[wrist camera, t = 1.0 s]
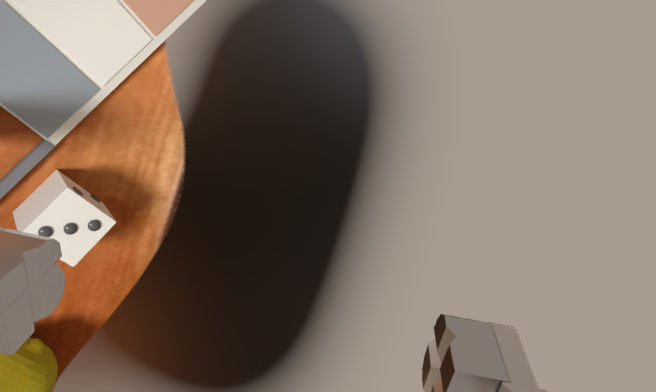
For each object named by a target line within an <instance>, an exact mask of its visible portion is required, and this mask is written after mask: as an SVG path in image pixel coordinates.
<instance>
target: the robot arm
mask: <svg viewBox="0 0 656 392" xmlns="http://www.w3.org/2000/svg"><path fill="white" fill-rule="evenodd" d="M61 257H62V252H61V246H60V243H59V242H58V241H57V240H55V239H53V238H49V237H44V236H39V235H35V234H30V233H26V232H21V231H16V230H12V229H6V228H1V227H0V353H2V354H8V355H13V354H14V353H15V352H16V351H17V350H18V349H19V348H20V347H21V345H22V344H23V343H24V342H25V341H26V340H27V339H28V338H29V337H30V336H31V335H32V334H33V333H34V331H35V325H34V322H36V321H38V320H41V319H43V318H45V317H48V316H49V315H50V314H51V313H52V312H53V311H54V309H55V308H56V307H57V306H58V304H59V302H60V300H61V297H62V295H63V293H64V286H65V277H64V272H63V271H62V270H61V269H60V267H59V266H58V265H57V264H56V262H57V261H58V260H59V259H60V258H61ZM434 333H435V340H433V341H432V342H430V343H429V344H428V346H427V350H426V353H425V356H424V362H423V368H422V382H423V390H424V391H425V392H547V391H546V390H542V389H538V386H537V383H536V381H535V378H534V376H533V373H532V370H531V368H530V365H529V362H528V360H527V357H526V354H525V352H524V350H523V347H522V344H521V341H520V339H519V336H518V333H517V331H516V329H515V328H514V327H513V326H509V325H502V324H497V323H491V322H488V323H486V322H481V321H476V320H471V319H465V318H460V317H455V316H450V315H444V314H440V316H439V317H438V319H437V321H436V324H435V326H434Z"/></svg>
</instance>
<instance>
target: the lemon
mask: <svg viewBox="0 0 656 392" xmlns="http://www.w3.org/2000/svg"><path fill="white" fill-rule="evenodd" d="M57 375H58V365H57V361H56V358H55V355H54V353H53V352H52V350H51V349H50V348H49V347H48V346H47V345H45V344H44V343H43V341H42V340H40V339H38V338H31V337H29V338H28V339H27V340H26V341H25V342H24V343H23V344H22V345H21V347H20V348H19V349H18V350H17V351H16V352H15V353H14V354H13V355H8V354H2V353H0V392H51V391H52V389H53V387H54V384H55V381H56V378H57Z"/></svg>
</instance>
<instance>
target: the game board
mask: <svg viewBox="0 0 656 392" xmlns="http://www.w3.org/2000/svg"><path fill="white" fill-rule="evenodd" d="M206 1H207V0H0V106H1V107H3V108H4V109H5V110H7V111H8V112H9V113H11V114H12V115H13V116H15V117H16V118H17V119H19V120H20V121H21V122H23V123H24V124H25V125H26V126H28V127H29V128H30V129H32V130H33V131H34V132H36V133H37V134H38V135H40V136H41V137H42V138H44V139H43V140H42V141H41V142H40V143H39V144H38V145H36V146H35V147H34V148H33V149H32V150H31V151H30V152H29V153H28V154H27V155H26V156H25V157H24V158H23V159H22V160H21V161H20V162H19V163H17V164H16V165H15V166H14V167H13V168H12V169H11V170H10V171H9V172H8V173H7V174H6V175H5V176H4V177H3V178H2V179H1V180H0V199H1V198H2V197H3V196H4V195H5V194H6V193H7V192H8V191H9V190H10V189H11V188H12V187H13V186H14V185H15V184H16V183H18V182H19V181H20V180H21V179H22V178H23V177H24V176H25V175H26V174H27V173H28V172H29V171H30V170H31V169H32V168H33V167H34V166H35V165H36V164H37V163H38V162H39V161H40V160H42V159H43V158H44V157H45V156H46V155H47V154H48V153H49V152H50V151H51V150H52V149H53V148H54V146H55V145H56V144H57V143H58V142H59V141H60V140H62V139H63V138H64V137H65V136H66V135H67V134H68V133H69V132H70V131H71V130H72V129H73V128H74V127H75V126H76V125H77V124H78V123H79V122H80V121H81V120H82V119H83V118H84V117H86V116H87V115H88V114H89V113H90V112H91V111H92V110H93V109H94V108H95V107H96V106H97V105H98V104H99V103H100V102H101V101H102V100H103V99H104V98H105V97H106V96H107V95H108V94H110V93H111V92H112V91H113V90H114V89H115V88H116V87H117V86H118V85H119V84H120V83H121V82H122V81H123V80H124V79H125V78H126V77H127V76H128V75H129V74H130V73H131V72H132V71H134V70H135V69H136V68H137V67H138V66H139V65H140V64H141V63H142V62H143V61H144V60H145V59H146V58H147V57H148V56H149V55H150V54H151V53H152V52H153V51H154V50H155V49H156V48H158V47H159V46H160V45H161V44H162V43H163V42H164V41H165V40H166V39H167V38H168V37H169V36H170V35H171V34H172V33H173V32H174V31H175V30H176V29H177V28H178V27H179V26H180V25H182V24H183V23H184V22H185V21H186V20H187V19H188V18H189V17H190V16H191V15H192V14H193V13H194V12H195V11H196V10H197V9H198V8H199V7H200V6H201V5H202V4H203V3H204V2H206Z"/></svg>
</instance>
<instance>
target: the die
mask: <svg viewBox="0 0 656 392" xmlns="http://www.w3.org/2000/svg"><path fill="white" fill-rule="evenodd" d="M13 216H14V220H15V223H16V227H17V230H18V231H21V232H26V233H30V234H35V235H39V236H44V237H49V238H53V239H55V240H57V241H58V242H59V243H60V246H61V252H62V257H61V258H60V260H62V261H64V262H65V263H67V264H69V265H71V266H72V267H74V266H75V265H76V264H77V263H78V262H79V261H80V259H81V258H82V257H83V256H84V255H85V254H86V253H87V252H88V251H89V250H90V249H91V248H92V247H93V246H94V245H95V244H96V243H97V242H98V241H99V240H100V239H101V238H102V237H103V236H104V235H105V234H106V233H107V232H108V231H109V230H110V229H111V227H112V226H113V225H114V224H115V223H116V221H115V219H114V218H113V216H112V215H111V214H110V212H109V211H108V209H107V208H106V206H105V205H104V204H103V202H101V201H100V200H99V199H98V198H96V197H95V196H94V195H92V194H90V193H89V192H88V191H86V190H85V189H83V188H82V187H81V186H79V185H78V184H77V183H75V182H74V181H72V180H71V179H70V178H68V177H67V176H65V175H64V174H63V173H61V172H60V171H59V170H56V171H55V172H54V173H52V174H51V175H50V176H49V177H48V178H47V179H46V180H45V181H44V182H43V183H42V184H41V185H40V186H39V187H38V188H37V189H36V190H35V191H34V192H33V193H32V194H31V195H30V196H29V197H28V198H27V199H26V200H25V201H24V202H23V203H22V204H21V205H20V206H19V207H17V208H16V209H15V210H14V211H13Z"/></svg>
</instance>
